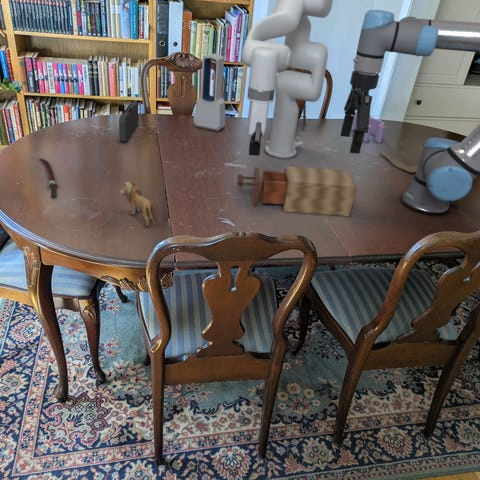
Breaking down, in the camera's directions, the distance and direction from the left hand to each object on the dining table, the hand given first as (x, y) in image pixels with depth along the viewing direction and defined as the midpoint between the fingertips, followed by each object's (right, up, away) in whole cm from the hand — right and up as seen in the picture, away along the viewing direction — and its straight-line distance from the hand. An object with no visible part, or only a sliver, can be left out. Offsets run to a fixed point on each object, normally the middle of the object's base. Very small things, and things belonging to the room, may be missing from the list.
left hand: (253, 154), depth 142 cm
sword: (-67, -6, +9) cm, 68 cm away
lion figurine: (-34, -19, -6) cm, 39 cm away
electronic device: (-18, +23, +62) cm, 69 cm away
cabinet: (+20, -15, +10) cm, 27 cm away
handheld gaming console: (-49, +17, +48) cm, 71 cm away
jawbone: (+62, +5, +47) cm, 78 cm away
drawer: (+7, -13, +8) cm, 17 cm away
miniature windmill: (+22, +27, +74) cm, 82 cm away
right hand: (+29, +3, -1) cm, 29 cm away
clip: (+53, +23, +73) cm, 93 cm away
